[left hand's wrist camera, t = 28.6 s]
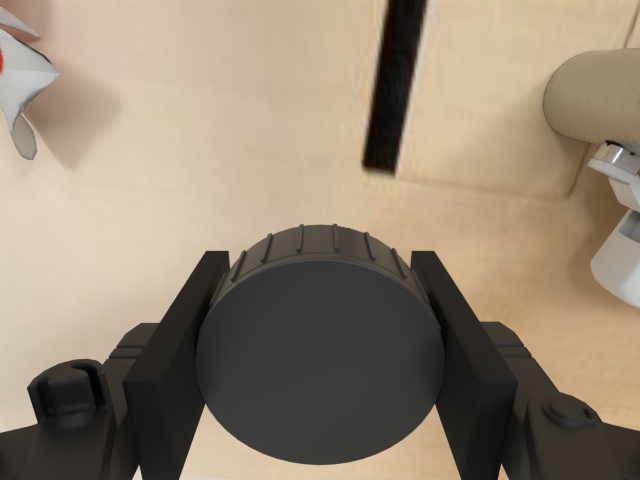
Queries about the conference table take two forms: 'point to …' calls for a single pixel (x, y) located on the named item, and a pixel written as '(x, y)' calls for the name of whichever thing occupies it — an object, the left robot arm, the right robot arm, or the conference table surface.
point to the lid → (320, 347)
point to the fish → (21, 81)
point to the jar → (597, 98)
